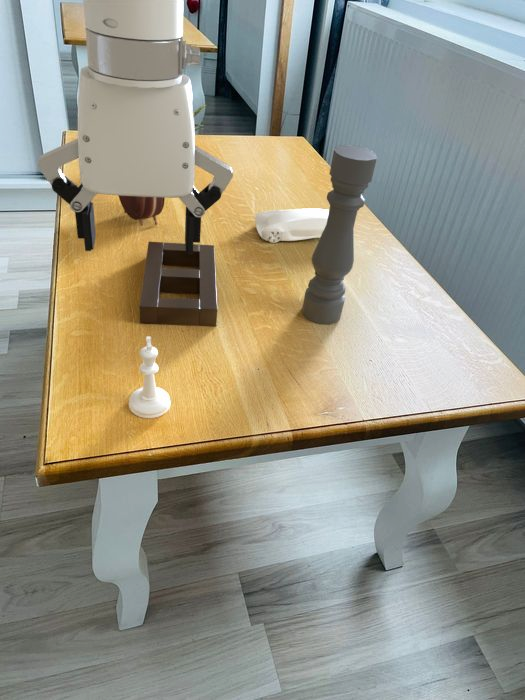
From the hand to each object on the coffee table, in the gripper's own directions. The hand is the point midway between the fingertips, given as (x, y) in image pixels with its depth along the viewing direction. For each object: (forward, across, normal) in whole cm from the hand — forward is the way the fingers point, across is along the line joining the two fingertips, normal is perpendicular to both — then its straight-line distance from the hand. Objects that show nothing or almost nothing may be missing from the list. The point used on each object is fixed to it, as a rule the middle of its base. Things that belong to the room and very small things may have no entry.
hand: (140, 246), depth 55 cm
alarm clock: (+20, +2, -48) cm, 53 cm away
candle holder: (+20, -27, -18) cm, 38 cm away
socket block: (+20, -5, -24) cm, 32 cm away
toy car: (+20, -29, -45) cm, 57 cm away
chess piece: (+20, -1, +2) cm, 20 cm away
